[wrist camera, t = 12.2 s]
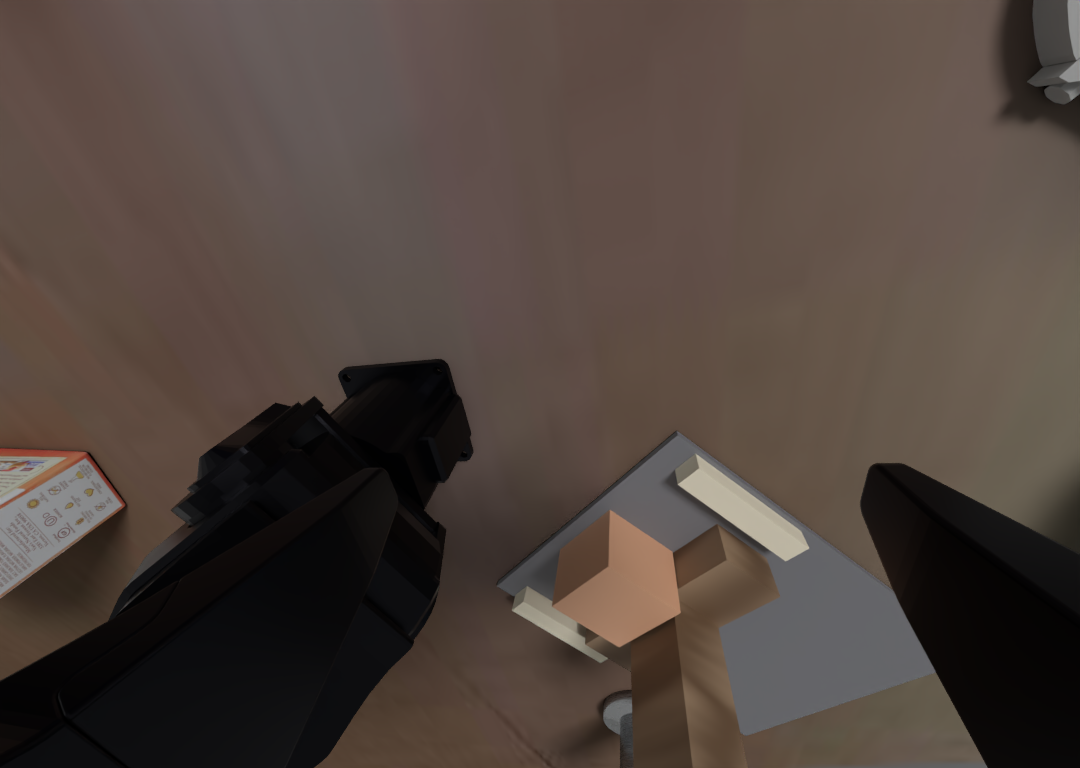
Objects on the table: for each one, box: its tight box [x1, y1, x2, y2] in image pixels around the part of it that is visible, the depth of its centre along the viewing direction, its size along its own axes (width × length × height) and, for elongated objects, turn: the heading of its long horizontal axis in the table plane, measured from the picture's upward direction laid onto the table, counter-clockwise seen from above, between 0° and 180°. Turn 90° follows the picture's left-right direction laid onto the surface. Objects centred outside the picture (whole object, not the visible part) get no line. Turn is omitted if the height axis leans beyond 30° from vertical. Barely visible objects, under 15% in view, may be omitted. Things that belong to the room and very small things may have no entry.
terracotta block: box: [552, 510, 681, 647], centre depth 25 cm, size 5×5×4 cm
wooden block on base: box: [585, 524, 780, 768], centre depth 22 cm, size 4×12×12 cm, turn 144°
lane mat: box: [497, 431, 936, 736], centre depth 28 cm, size 25×18×2 cm
